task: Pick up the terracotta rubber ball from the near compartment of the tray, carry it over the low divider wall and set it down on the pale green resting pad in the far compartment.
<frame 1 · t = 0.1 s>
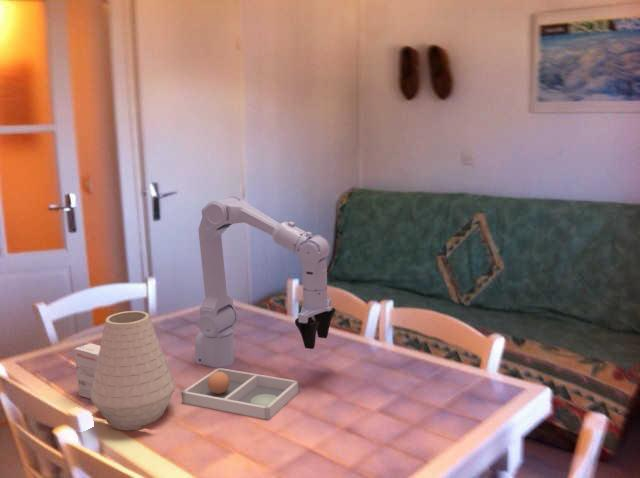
hand: (316, 342, 156), 10 cm above the table, fingers open, 7 cm apart
ink box: (98, 396, 153), on the table
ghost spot: (264, 401, 146), resting on tray
vase: (136, 419, 141), on the table
ball: (219, 392, 151), point 1 cm above the table, touching tray
tray: (241, 400, 148), on the table
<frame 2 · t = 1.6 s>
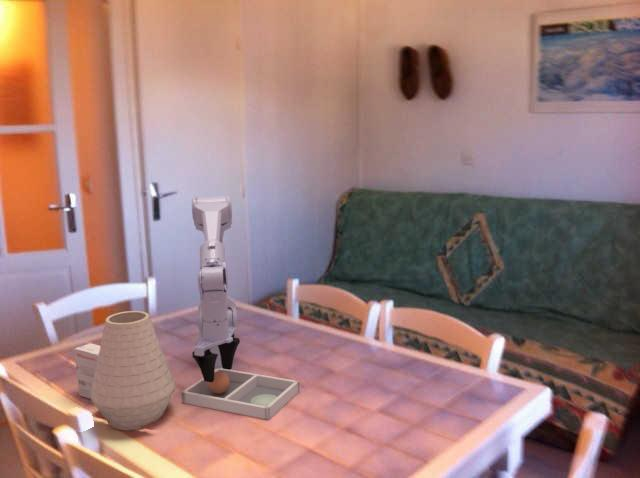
hand: (218, 374, 150), 5 cm above the table, fingers open, 7 cm apart
nothing on the table moved.
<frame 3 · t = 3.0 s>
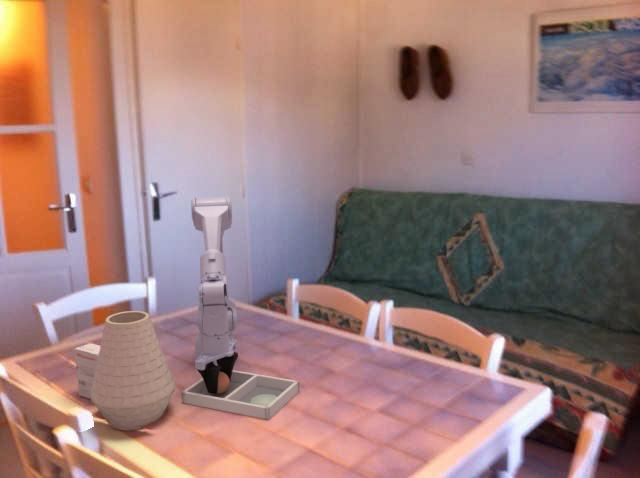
hand: (219, 387, 150), 2 cm above the table, fingers closed on ball, 5 cm apart
ball: (219, 392, 151), point 1 cm above the table, touching gripper, tray
everything else where it was.
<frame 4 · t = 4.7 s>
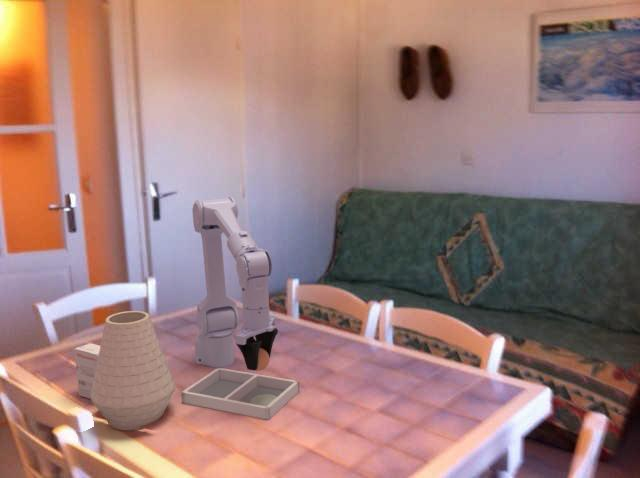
hand: (258, 364, 145), 10 cm above the table, fingers closed on ball, 5 cm apart
ball: (258, 369, 145), point 8 cm above the table, touching gripper
everything else where it was.
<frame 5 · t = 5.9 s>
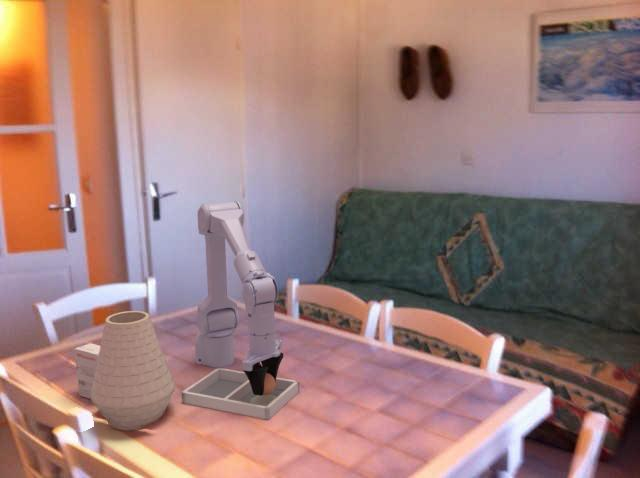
hand: (264, 389, 145), 4 cm above the table, fingers closed on ball, 5 cm apart
ball: (264, 394, 145), point 3 cm above the table, touching gripper
everything else where it was.
when the fingers open (4 cm above the table, at t = 6.8 s): ball drops 1 cm, resting on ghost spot.
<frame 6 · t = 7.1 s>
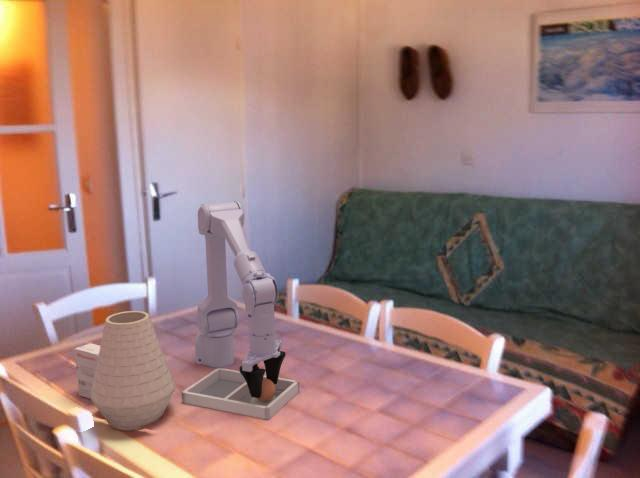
hand: (264, 389, 145), 4 cm above the table, fingers open, 7 cm apart
ball: (264, 400, 146), point 1 cm above the table, touching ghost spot
everything else where it was.
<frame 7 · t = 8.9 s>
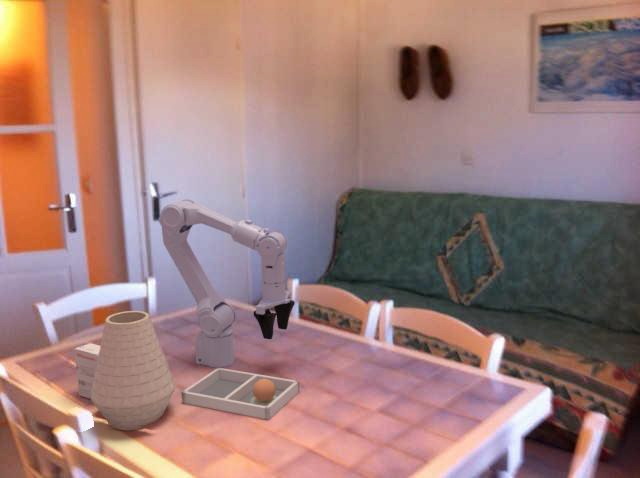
hand: (275, 333, 163), 10 cm above the table, fingers open, 7 cm apart
nothing on the table moved.
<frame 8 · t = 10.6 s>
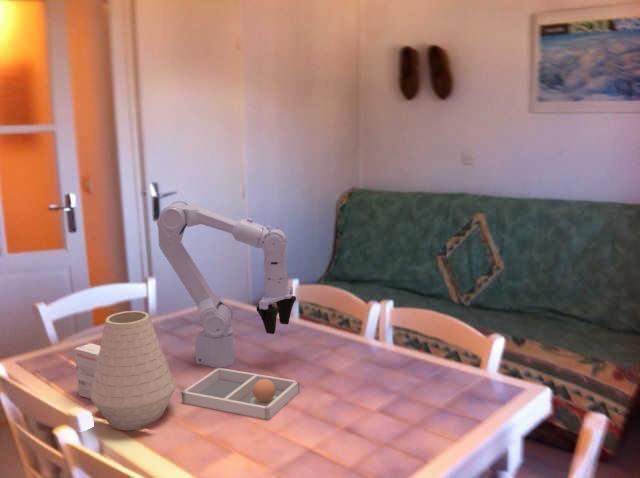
hand: (277, 328, 167), 10 cm above the table, fingers open, 7 cm apart
nothing on the table moved.
at the end: ball 0.0 cm from the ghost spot (horizontally); ball inside the target area on the tray (0.0 cm from its centre), point 1.2 cm above the tray's base; the gripper is holding nothing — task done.
